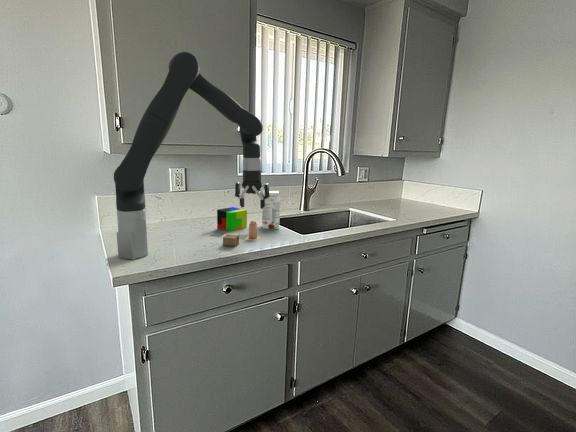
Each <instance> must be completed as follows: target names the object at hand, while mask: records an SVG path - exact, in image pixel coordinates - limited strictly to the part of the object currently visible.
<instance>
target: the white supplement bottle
mask: <svg viewBox="0 0 576 432" xmlns="http://www.w3.org/2000/svg"><path fill="white" fill-rule="evenodd" d="M263 194H264V196H265V190H263ZM269 196H270V197H269V198H267V199H265V207H264V208H263V209H261V210H262V212H261V213H262V215H261V225H262V228H263V229H264V230H265V229H266V230H267V229H270V230H272V229H273V230H276V229H277V230H278V229H279V227H280V218H281V217H280V216H281V215H280V211H281V195H280V192H279V190H269Z"/></svg>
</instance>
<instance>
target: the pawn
mask: <svg viewBox="0 0 576 432" xmlns="http://www.w3.org/2000/svg"><path fill="white" fill-rule="evenodd" d="M248 235H249V236H248V237H249V238H250V239H256V238H257V236H258V223H257V221H256V220H251V221H250V222H249V224H248Z"/></svg>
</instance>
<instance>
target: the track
mask: <svg viewBox="0 0 576 432" xmlns="http://www.w3.org/2000/svg"><path fill="white" fill-rule="evenodd" d="M227 234H232V235H239V240H246V241H254V242H255V241H256V242H257V241H258V240H259V239H260V238H261V237H262V236H258V235H257V238H256V239H250V238H249V234H238V233H227V232H217V231H215V232H213V233H212V234H209V237H214V238H215V237H216V238H223V237H224V236H226V235H227Z"/></svg>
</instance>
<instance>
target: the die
mask: <svg viewBox="0 0 576 432" xmlns="http://www.w3.org/2000/svg"><path fill="white" fill-rule="evenodd" d="M232 234H233V233H230V234H227V235H226V236H224V237H222V246H223V247H226V248H236V247H237V246H238V245H240V239H239V235H238V234H237V235H232Z"/></svg>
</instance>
